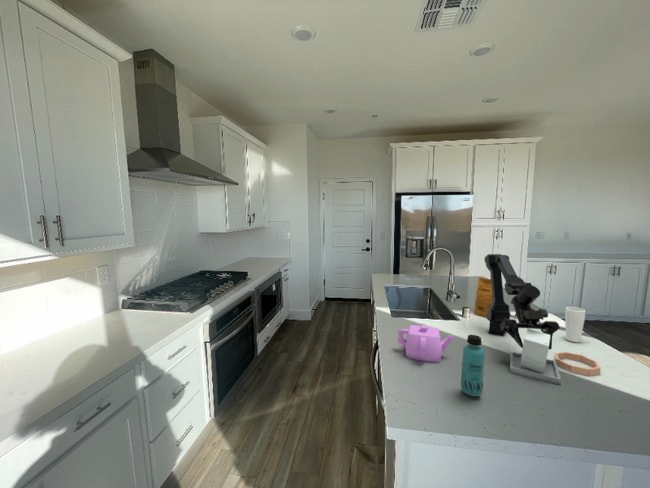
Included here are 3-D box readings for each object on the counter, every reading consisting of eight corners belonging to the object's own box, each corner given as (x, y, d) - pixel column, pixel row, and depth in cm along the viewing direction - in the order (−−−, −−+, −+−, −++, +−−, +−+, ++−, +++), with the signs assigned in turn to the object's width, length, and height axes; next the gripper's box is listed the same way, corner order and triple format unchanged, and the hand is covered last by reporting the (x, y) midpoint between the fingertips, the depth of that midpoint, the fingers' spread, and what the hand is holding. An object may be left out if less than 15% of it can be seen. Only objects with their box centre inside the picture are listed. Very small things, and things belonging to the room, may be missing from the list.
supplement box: (546, 361, 108) (551, 334, 104) (543, 374, 103) (549, 346, 99) (523, 353, 113) (527, 327, 109) (519, 365, 108) (523, 338, 104)
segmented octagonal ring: (557, 369, 108) (557, 362, 107) (553, 355, 118) (553, 349, 118) (602, 379, 101) (603, 372, 100) (594, 363, 111) (594, 357, 111)
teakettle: (394, 350, 125) (395, 323, 123) (423, 341, 132) (424, 316, 131) (423, 368, 109) (424, 338, 108) (454, 358, 117) (455, 329, 115)
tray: (510, 372, 106) (510, 367, 105) (510, 355, 118) (510, 351, 118) (560, 385, 98) (561, 379, 98) (555, 365, 110) (555, 360, 110)
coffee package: (477, 310, 173) (479, 274, 170) (500, 315, 164) (502, 278, 161) (471, 314, 166) (473, 277, 163) (495, 320, 157) (497, 281, 155)
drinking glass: (586, 344, 127) (589, 312, 125) (569, 343, 128) (571, 311, 127) (576, 337, 134) (579, 307, 132) (559, 336, 135) (562, 306, 133)
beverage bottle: (456, 389, 96) (458, 332, 94) (475, 387, 97) (477, 331, 95) (467, 401, 90) (470, 341, 88) (487, 400, 90) (490, 340, 88)
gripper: (505, 299, 111) (517, 338, 101) (559, 301, 107) (576, 342, 98) (495, 311, 119) (505, 349, 110) (545, 313, 116) (560, 352, 107)
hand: (536, 348), depth 106 cm, fingers closed on supplement box, 9 cm apart
